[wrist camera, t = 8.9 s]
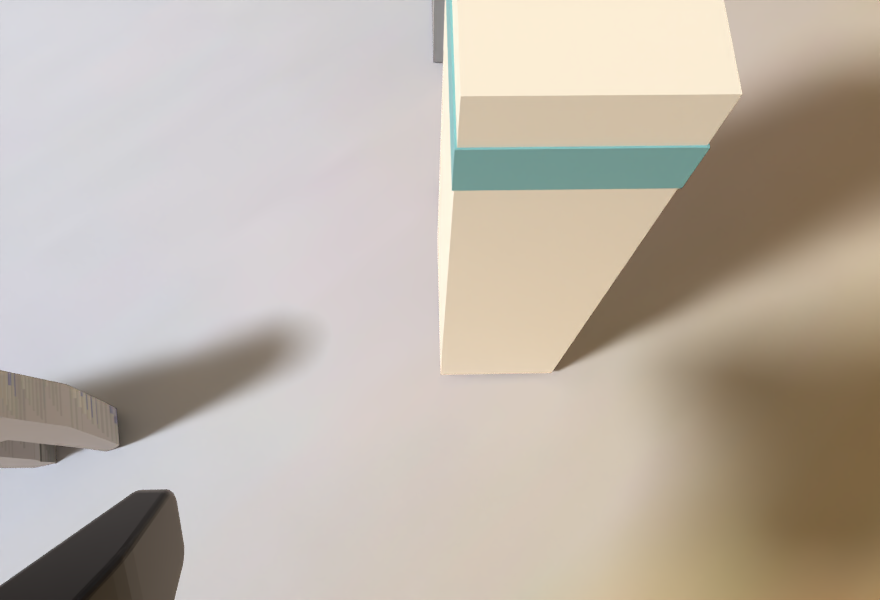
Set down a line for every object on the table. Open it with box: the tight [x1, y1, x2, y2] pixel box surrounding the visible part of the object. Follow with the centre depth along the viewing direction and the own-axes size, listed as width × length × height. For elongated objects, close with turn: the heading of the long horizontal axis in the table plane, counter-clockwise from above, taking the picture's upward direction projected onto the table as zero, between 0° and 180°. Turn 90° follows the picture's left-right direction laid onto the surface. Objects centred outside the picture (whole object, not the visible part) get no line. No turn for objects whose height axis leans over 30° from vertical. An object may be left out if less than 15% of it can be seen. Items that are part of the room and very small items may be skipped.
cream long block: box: [438, 0, 742, 375], centre depth 14 cm, size 4×3×12 cm
